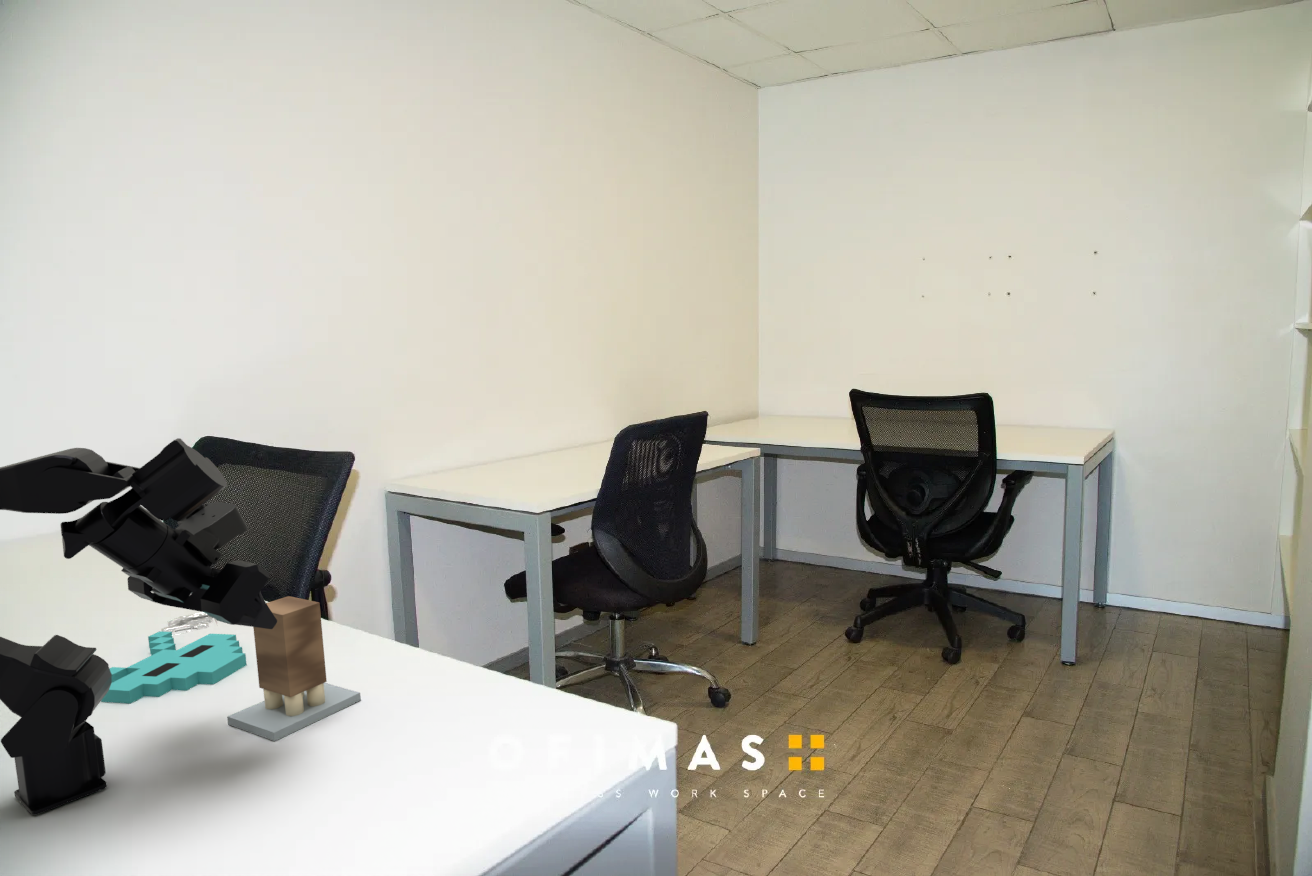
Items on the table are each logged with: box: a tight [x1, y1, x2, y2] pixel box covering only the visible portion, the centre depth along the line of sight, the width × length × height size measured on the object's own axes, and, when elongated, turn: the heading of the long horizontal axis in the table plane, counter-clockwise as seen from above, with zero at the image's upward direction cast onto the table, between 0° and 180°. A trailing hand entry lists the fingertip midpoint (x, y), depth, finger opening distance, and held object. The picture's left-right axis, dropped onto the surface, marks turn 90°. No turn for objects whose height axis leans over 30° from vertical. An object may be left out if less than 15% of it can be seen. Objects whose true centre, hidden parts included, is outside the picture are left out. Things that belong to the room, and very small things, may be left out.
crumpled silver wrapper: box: [160, 612, 218, 637], centre depth 138 cm, size 8×7×2 cm
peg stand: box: [226, 682, 362, 742], centre depth 104 cm, size 12×9×4 cm
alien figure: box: [100, 630, 247, 705], centre depth 119 cm, size 20×2×20 cm
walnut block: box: [252, 595, 328, 697], centre depth 103 cm, size 5×6×10 cm
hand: (249, 618), depth 99 cm, fingers open, 9 cm apart
